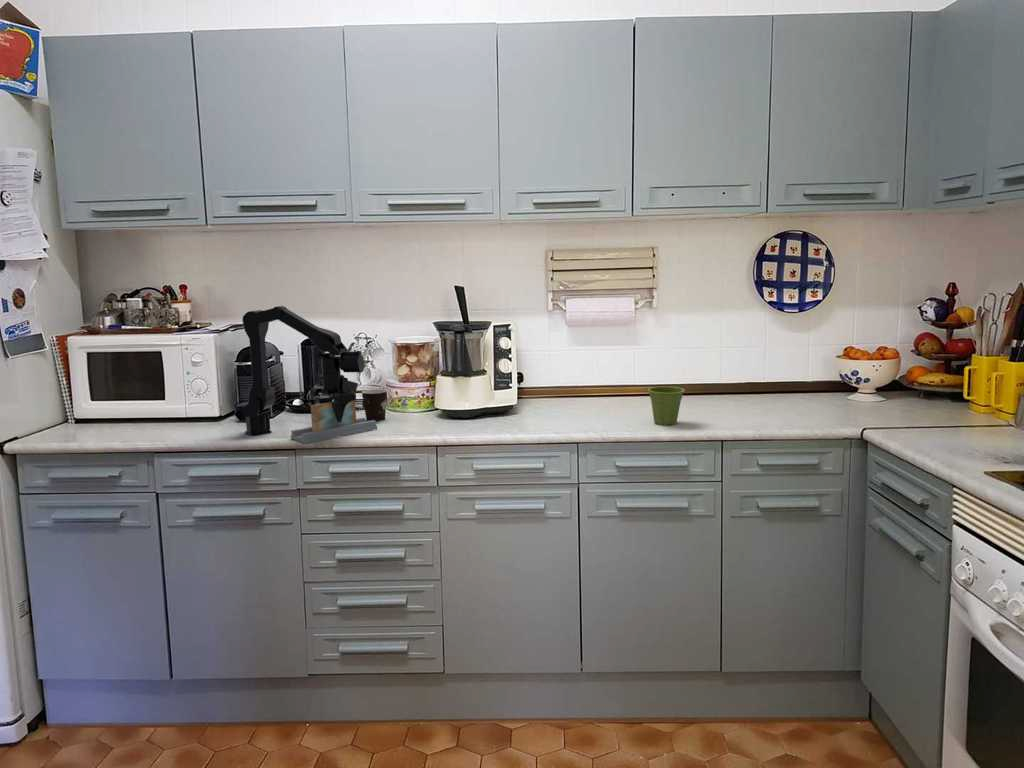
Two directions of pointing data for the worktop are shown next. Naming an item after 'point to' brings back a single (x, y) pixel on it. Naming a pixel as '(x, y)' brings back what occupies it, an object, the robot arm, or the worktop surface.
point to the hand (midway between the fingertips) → (334, 420)
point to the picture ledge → (332, 431)
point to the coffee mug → (374, 404)
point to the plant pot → (665, 404)
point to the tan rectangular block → (331, 416)
